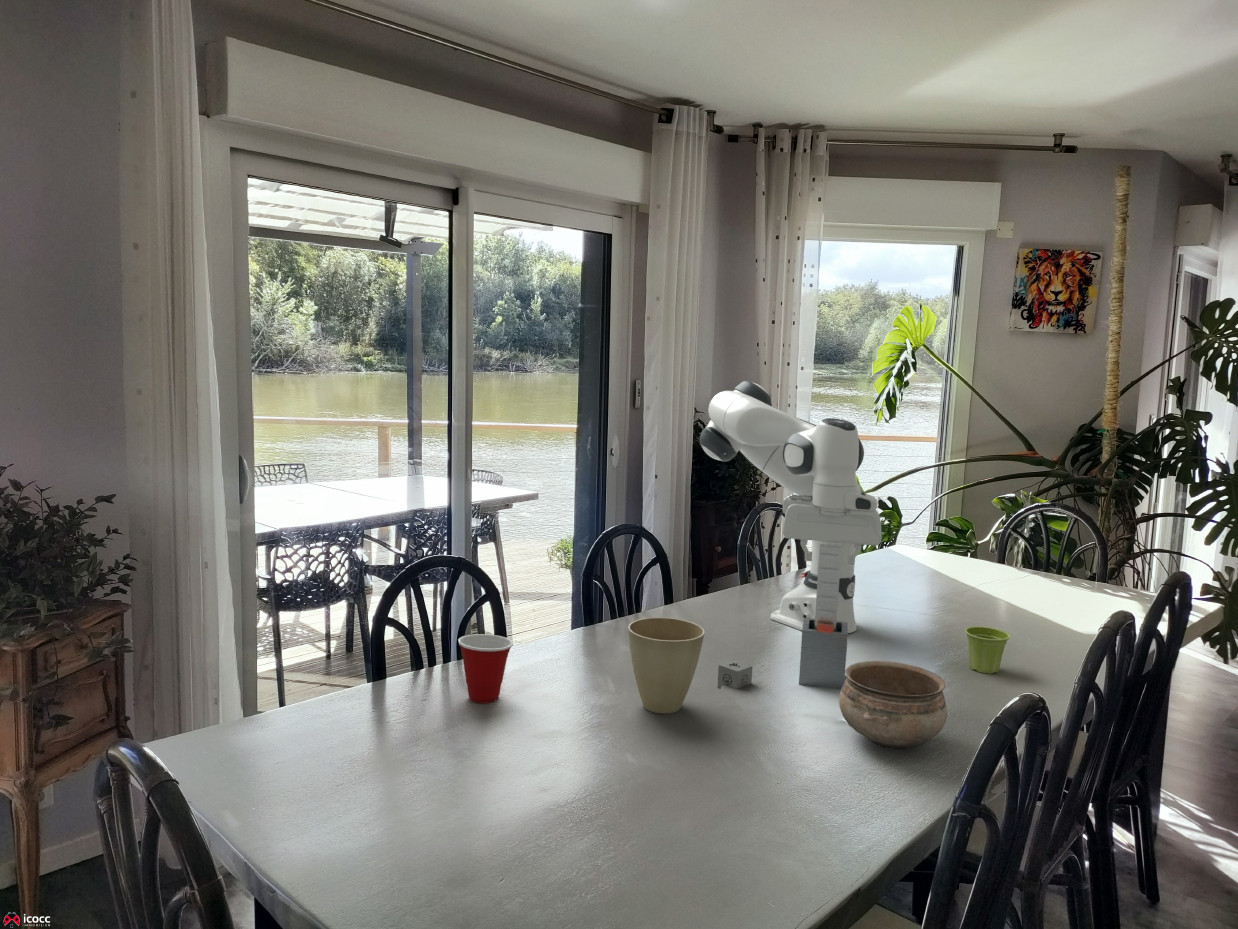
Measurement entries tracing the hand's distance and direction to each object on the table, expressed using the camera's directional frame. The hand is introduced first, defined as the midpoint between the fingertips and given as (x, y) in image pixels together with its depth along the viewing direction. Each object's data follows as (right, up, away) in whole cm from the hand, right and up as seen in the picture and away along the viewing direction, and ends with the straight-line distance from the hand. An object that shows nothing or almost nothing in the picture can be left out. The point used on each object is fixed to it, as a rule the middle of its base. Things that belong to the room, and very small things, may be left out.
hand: (829, 562), depth 190 cm
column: (-1, -16, +2) cm, 16 cm away
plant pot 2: (+39, -27, +17) cm, 50 cm away
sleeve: (-1, -27, +3) cm, 27 cm away
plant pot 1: (-36, -27, -12) cm, 46 cm away
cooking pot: (+5, -31, -24) cm, 39 cm away
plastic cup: (-71, -26, -10) cm, 76 cm away
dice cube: (-20, -27, 0) cm, 33 cm away
